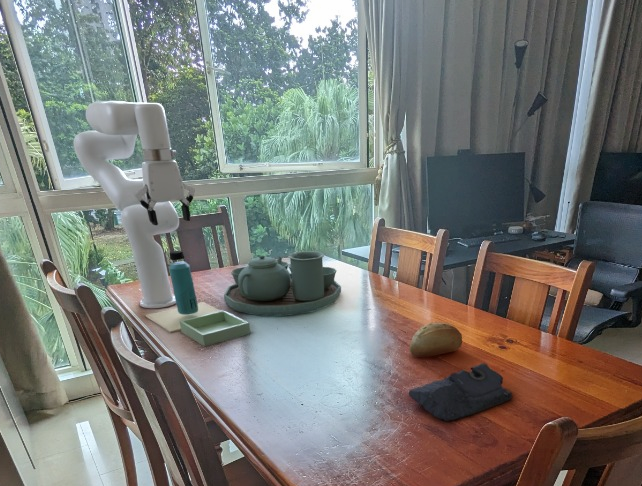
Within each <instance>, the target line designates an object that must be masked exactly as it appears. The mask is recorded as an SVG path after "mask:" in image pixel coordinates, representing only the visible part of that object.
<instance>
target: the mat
mask: <svg viewBox="0 0 642 486" xmlns="http://www.w3.org/2000/svg"><path fill="white" fill-rule="evenodd" d="M197 305H198V312H196V313H193V314H188V315H183V314H180V313H179V312H178V310H177V309H178V308H177V307H174V308H169V309H166V310H162V311H157V312H152V313H149V314H145V318H147V319H149V320H150V321H152V322H153V323H155V324H156V325H158V326H159V327H161V328H163V329H164V330H166V331H168V332H169V333H171V334H173V333H176V332H180V331H181V327H180V323H179V321H182V320H186V319H190V318H194V317H198V316H203V315H207V314H211V313H215V312H219V311H221V310H220V309H218V308H216V307H214V306H212V305H210V304H208V303H206V302H205V301H201V302H197Z"/></svg>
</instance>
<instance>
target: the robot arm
mask: <svg viewBox="0 0 642 486" xmlns="http://www.w3.org/2000/svg"><path fill="white" fill-rule="evenodd" d="M165 111H166V110H165V108H164V106H163V105H162V104H161V103H158V102H127V101H121V100H97V101H93V102H91V103H90V104H88V106H87V108H86V110H85V119H86V121H87V124H88V125H89V126H90V128H92V129H93V130H85V131H81V132H79V133H78V134H76V135H75V136H74V138H73V149H74V152H75V154H76V155H75V156H76V157H77V159H78V161H79V163H80V165H81V166H82V168H83V169H84V170H85V171H86V172H87V174H88V175H89V176H91V178H92V179H94V180H95V181H96V182H97V183H98V185H99V186H100V187H101V189H102V190H103V191H104V193H105V194H106V196H107V197H108V198H109V200H110V202H111V203H112V204H113V206H114V207H115V208H116V209H117V210H118V211H119V212H120V221H121V224H122V227H123V229H124V232H125V234H126V237H127V239H128V242H129V245H130V248H131V252H132V256H133V262H134V264H135V268H136V274H137V277H138V281H139V285H140V290H141V293H142V299H141V300H140V301H139V305H140V307H142V308H145V309H162V308H168V307H170V306H171V307H172V306H173V305H177V304H176V299H175V295H174V294H173V290H172V286H171V281H170V277H169V276H170V275H169V271H168V268H167V267H168V266H167V262H166V258H165V253H164V250H163V247H162V246H161V244H160V243H158V241H156V240H155V239H154V237H153V236H156V235H162V234H168V233H173V232H175V231H176V230H178V228H179V227H180V217H179V214H178V212H177V210H176V208H175V206H174V205H173V203H172V202H174V201H179V202H180V203H181V207H180V208H181V213H182V218H183V219H182V220H184V221H186V222H190V221H191V210H190V206H191V203H192V201H193V200H194V195H195V192H196V189H195V188H194V187H191V186H190V185H187V184H185V183H183V179H182V175H181V171H180V168H179V166H178V162H177V161H176V160H174V159H175V157H178V151H177V150H174V149H173V148H172V143H171V139H170V134H169V128H168V127H169V126H168V123H167V117H166V112H165ZM138 136H139V139H140V144H141V149H142V150H141V151H142V155H143V159H144V161H143V162H141V174H142V178H137V179H132V178H131V179H130V178H128V177H127V176H126V174H125V173H124V171H123V170H122V169H121V168H119V167H118V166H117V165H115V164H113V163H112V162H109V161H112V160H126V159H129V158H131V157H132V156H133V154H134V151H135V147H136V142H137V137H138ZM185 191H187V196H186V193H185Z"/></svg>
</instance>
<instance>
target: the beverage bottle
mask: <svg viewBox="0 0 642 486" xmlns="http://www.w3.org/2000/svg"><path fill="white" fill-rule="evenodd" d="M169 260H171V261H174V262H172V263H171V264H170V265H169V266H168V270H169V271H168V272H169V276H170V280H171V284H172V294H173V295H175V299H176V304H175V305H176V308H178V309H177V310H178V312H179V313H180V314H183V315H188V314H193V313H196V312H198V305H197V303H198V299H197V298H198V297H197V295H196V291H195V286H194V285H195V284H194V281H193V280H194V278H193V275H192V271H191V265H190V264H189V263H187V262H186V261H181V260H185V255H184V252H183V250H172V251H170V252H169Z"/></svg>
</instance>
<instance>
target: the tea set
mask: <svg viewBox="0 0 642 486" xmlns="http://www.w3.org/2000/svg"><path fill="white" fill-rule="evenodd" d="M287 257H288V259H289V262H290V263H288V262H287V261H282V260H283V259H282V257H281V256H278V257H277V259H276V258H274V257H271V256H265V255H263V254H261V255H259V256H258V257H254V258H251V259H250V260H248V262H247V266H242V267H238V268H237V267H236V268H234V269H232V270H231V272H230V274H231V276H232V278H233V281H234V284H232V285H230V286H228V287H227V289H226V290H225V292H224V294H223V298H224V302H225V304H226V305H227V306H229V307H230V308H231V309H233V310H234V311H236V312H240V313H244V314H249V315H255V316H261V317H262V316H264V317H265V316H267V317H269V316H275V317H277V316H279V317H280V316H283V317H284V316H285V317H287V316H294V315H299V314H305V313H306V314H307V313H313V312H316V311H319V310H321V309H323V308H326V307H329V306H331V305H333V304H335V303H336V301H337V300H338V298H339V297H340V296H341V293H342V286H341V285H340V284H339V283H338V282H337V281H336V280H335V278H336V273H337V270H336V268H334V267H330V266H324V264H323V263H324V262H323V258H324V257H325V254H324V253H323V252H321V251H313V250H312V251H310V250H307V251H306V250H305V251H294V252H293V253H292V252H291V253H290V254H289V255H288V256H287ZM288 269H289V270H288Z"/></svg>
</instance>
